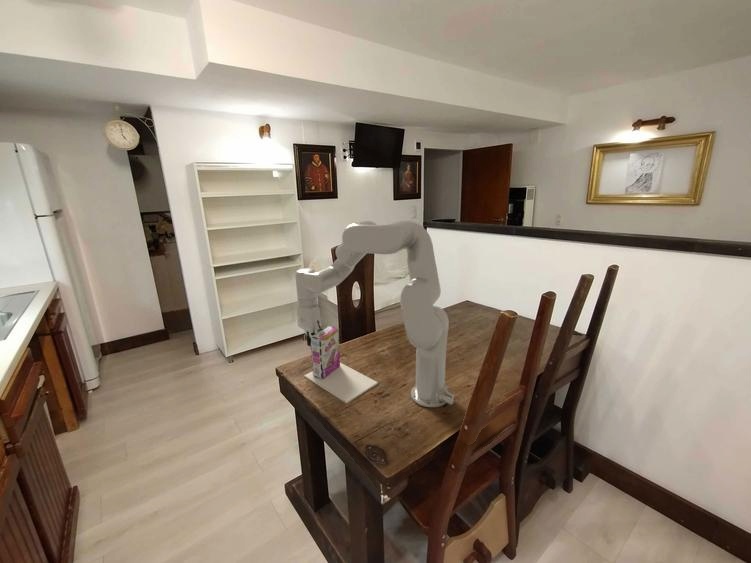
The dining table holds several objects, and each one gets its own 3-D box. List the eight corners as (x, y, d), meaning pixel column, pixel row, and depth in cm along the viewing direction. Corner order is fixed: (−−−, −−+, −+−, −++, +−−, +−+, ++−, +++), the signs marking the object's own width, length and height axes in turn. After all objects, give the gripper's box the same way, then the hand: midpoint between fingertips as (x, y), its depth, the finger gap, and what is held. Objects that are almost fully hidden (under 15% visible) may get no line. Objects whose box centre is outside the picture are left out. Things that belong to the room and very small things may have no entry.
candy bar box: (323, 380, 119) (319, 339, 114) (312, 376, 122) (309, 336, 117) (341, 365, 128) (338, 327, 124) (331, 362, 131) (328, 325, 126)
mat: (377, 383, 117) (377, 382, 117) (346, 403, 107) (346, 402, 107) (335, 361, 133) (334, 359, 133) (304, 376, 123) (304, 375, 122)
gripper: (288, 299, 126) (293, 342, 131) (311, 308, 116) (315, 354, 121) (304, 294, 131) (308, 336, 136) (328, 302, 121) (331, 347, 126)
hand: (311, 344), depth 128 cm, fingers closed
